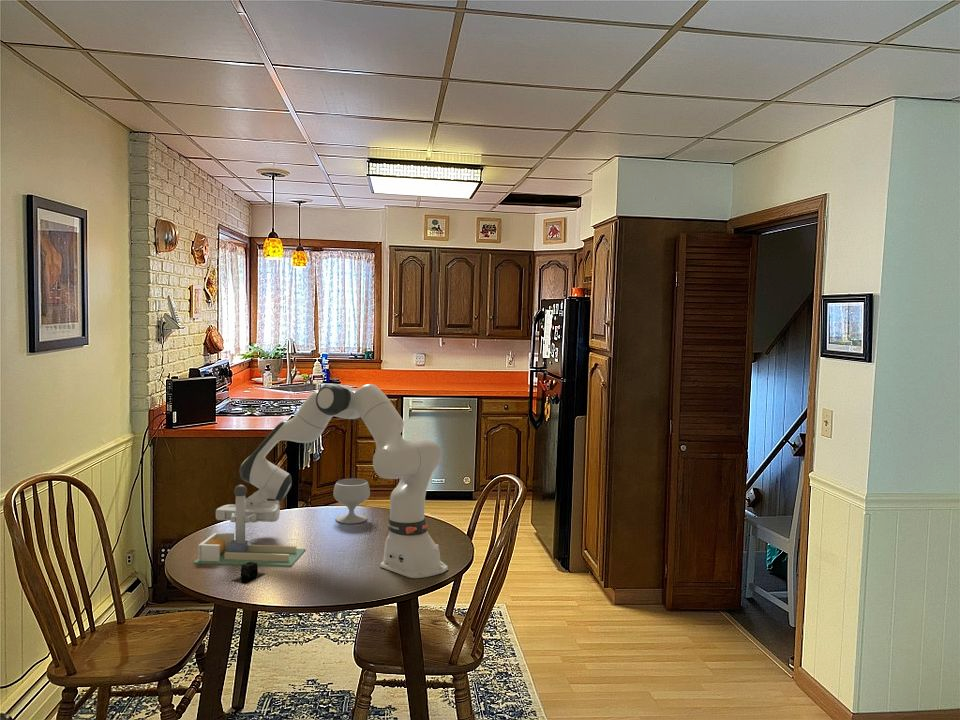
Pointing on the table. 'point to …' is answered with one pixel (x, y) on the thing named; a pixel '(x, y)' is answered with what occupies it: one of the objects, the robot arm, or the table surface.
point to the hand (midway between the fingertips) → (239, 520)
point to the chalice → (351, 498)
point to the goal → (213, 553)
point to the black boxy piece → (248, 573)
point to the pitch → (292, 559)
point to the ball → (219, 542)
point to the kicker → (239, 522)
